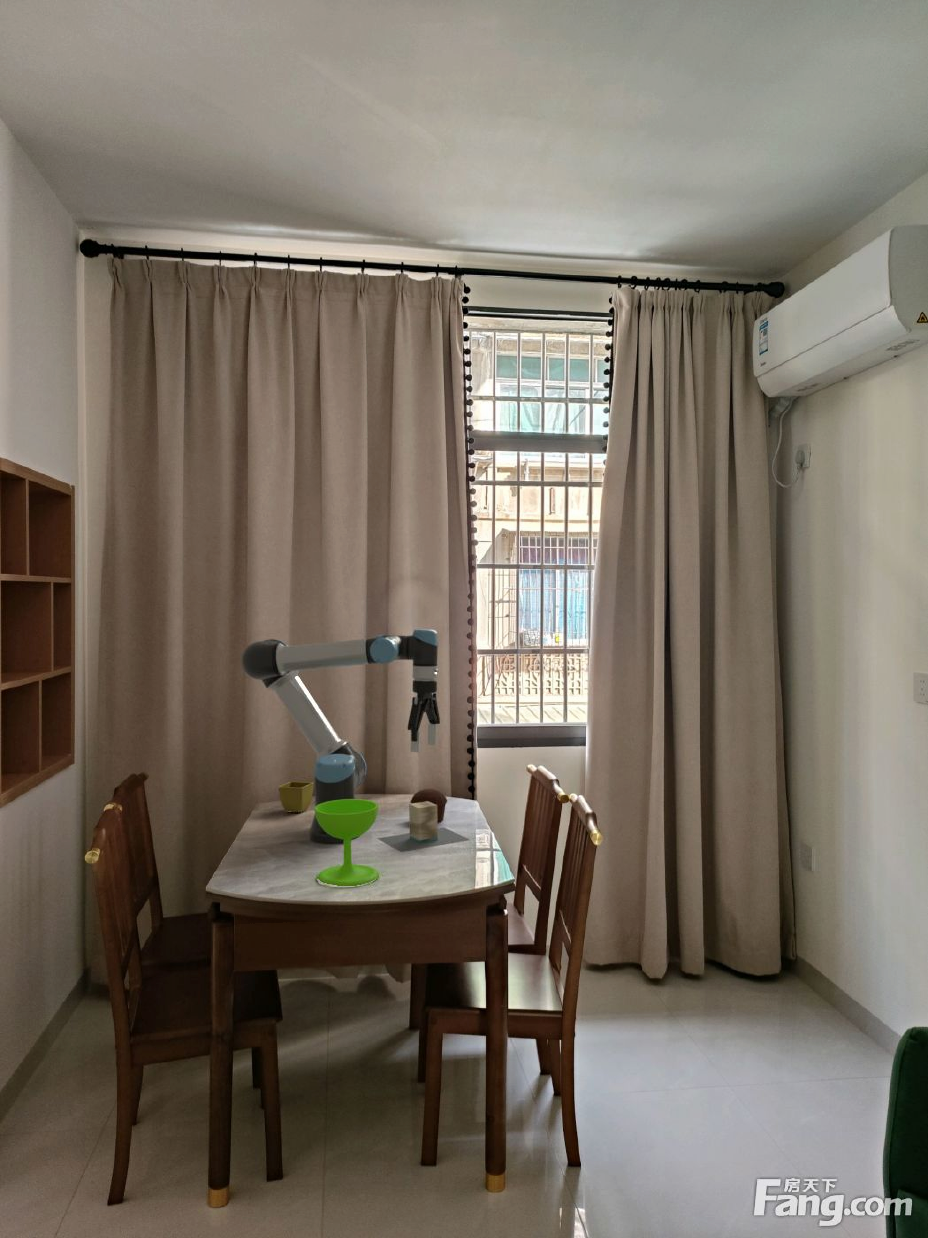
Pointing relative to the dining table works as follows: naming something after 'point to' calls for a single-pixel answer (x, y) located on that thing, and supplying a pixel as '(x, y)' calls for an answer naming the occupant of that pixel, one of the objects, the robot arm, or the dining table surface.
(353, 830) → the wineglass
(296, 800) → the flower pot
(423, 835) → the maple block
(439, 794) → the muffin
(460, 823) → the dining table surface
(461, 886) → the dining table surface
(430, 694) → the robot arm
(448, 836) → the slate mat
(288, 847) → the dining table surface
